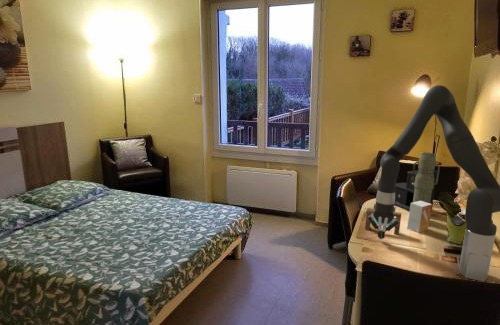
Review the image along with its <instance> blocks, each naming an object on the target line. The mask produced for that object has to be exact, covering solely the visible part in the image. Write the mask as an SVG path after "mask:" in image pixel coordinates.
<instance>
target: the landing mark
mask: <svg viewBox="0 0 500 325" xmlns="http://www.w3.org/2000/svg"><path fill="white" fill-rule="evenodd" d="M371 215H373V213H371ZM394 218H395V219H396V217H394ZM374 221H375V223H376V224H377V225H378V222H377V221H376V219H375V217H374ZM392 221H393V220H392ZM392 221H390V222H389V223H388V224H387V225H386V227H388V226H389V225H390V224H391V223H392ZM370 224H371V222H370ZM382 226H383V223H382Z"/></svg>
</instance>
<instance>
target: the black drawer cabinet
mask: <svg viewBox="0 0 500 325" xmlns="http://www.w3.org/2000/svg"><path fill="white" fill-rule="evenodd" d="M412 173H413V170H410V171H409V170H408V171H407V177H406V182H396V190H395V203H394V207H399V208H401V209H402V210H405V211H407V212H410V204H411V203H413V197H414V190H415V187H414V182H413V181H412ZM416 174H417V170H415V173H414V179H415V176H416ZM436 176H437V170H434V178H435V180H434V181H435V183H436ZM435 190H436V185H434V187H433V190H432V193H431V200H430V204H432V208H431V213H432V212H433V205H434V199H435V198H434V197H435Z"/></svg>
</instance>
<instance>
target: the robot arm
mask: <svg viewBox="0 0 500 325" xmlns="http://www.w3.org/2000/svg"><path fill="white" fill-rule="evenodd" d="M434 115H435V116H436V118H437V119H438V121H439V123H440V125H441V129H442V132H443V136H444V141H445V144H446V147H447V149H448V151H449V153H450V155H451V158H452V159H453V161H454V162H455V163H456V164H457V165H458V166H459V168H461V170H463V171H464V172H465V173H466V174H467V175H468V176H469V177H470V178H471V180H472V181H473V183H474V185H475V187H476V188H474V189H472V190H471V191H470V192H469V193H468V195H467V198H466V204H465V210H466V212H465V221H466V229H465V235H464V240H463V242H462V247H461V252H460V259H459V267H458V272H459V273H460V274H461V275H462V276H463V277H464V278H465V279H469V280H470V279H471V280H476V281H480V282H486V280H487V279H488V277H489V271H490V267H491V266H490V265H491V262H492V261H491V260H492V257H493V256H492V255H493V249H494V245H495V239H496V235H497V225H496V224H495V223H493V222H492V216H493V214H494V213H500V183H499V182H498V181H497V178H495V176H494V173H493V172H492V171H491V170H490V169H491V168H489V166H488V163H487V161H486V160H485V158H484V156H483V154H482V151H481V150H480V147H479V145H478V143H477V141H476V140H475V137H474V136H473V134H472V131H471V130H470V128H469V127H468V125H467V124H466V123H465V121H464V120H463V118H462V116H461V114H460V111H459V108H458V106H457V102H456V99H455V97H454V94H453V93H452V91H451V90H450V89H448V87H446V86H444V85H440V84H438V85H434V86H432V87H430V88H429V89H428V90H427V92H426V93H425V95H424V97H423V99H422V101H421V102H420V104H419V106H418V107H417V110H416V112H414V115H413V116H412V118H411V119H410V121H409V123H407V125H406V127H405V128H404V130H403V131H402V132H401V134H400V135H399V136H398V137H397V139H396V140H395V141H394V143H393V145H391V146H390V147H389V148H388V149H387V150H386V151H385V152H384V153H383V155H382V157H381V158H380V161H379V165H380V168H381V171H380V172H381V173H380V177H379V179H378V185H377V191H376V192H377V193H376V196H375V197H376V198H375V204H376V205H375V211H374V213H372V214H373V215H371V216H370V215H369V216H368V220H369V221H370V222H371V223H370V225H372V227H373V228H374V230H377V237H378V240H383V239H385V235H386V232H390V231H391V230H392V229H394V228H395V226H396V225H397V224H398V220H396V219H395V218H396V217H394V215H393V211H394V207H395V205H394V203H395V190H396V183H397V179H398V177H399V174H400V167H401V166H400V162H401V160H402V159H403V157H404V156H407V155H409V153H410V152H411V151H412V150H413V149H414V147H415V146H416V144H417V143H418V142H419V140H420V139H421V137H422V135H423V133H424V130H425V128H426V127H427V125H428V123H429V121H430V120H431V119H432V117H433V116H434ZM374 217H375V219H376V221H377V222H378V224H376V223H375V221H374ZM392 220H393V221H392ZM390 221H392V223H391V224H390V225H389V226H386V225H387V224H388V223H389V222H390ZM382 223H383V225H382Z"/></svg>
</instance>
